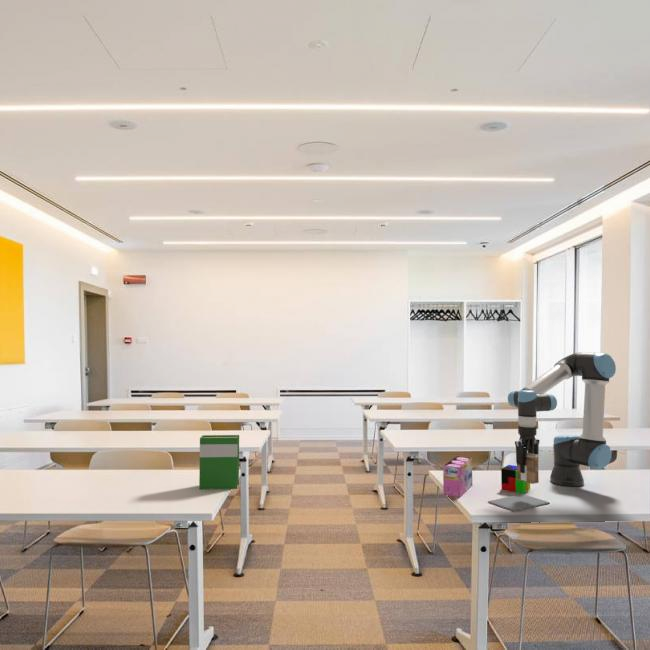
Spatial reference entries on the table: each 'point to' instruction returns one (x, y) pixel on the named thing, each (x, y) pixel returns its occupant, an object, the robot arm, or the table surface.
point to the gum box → (457, 476)
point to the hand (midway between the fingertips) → (527, 479)
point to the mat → (518, 502)
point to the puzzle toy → (512, 480)
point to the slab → (530, 469)
